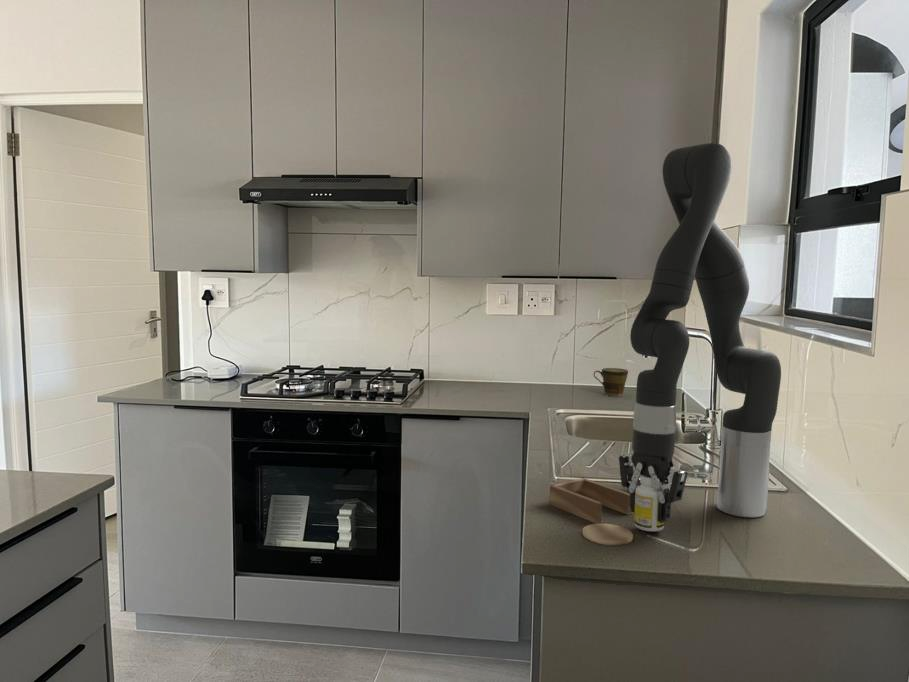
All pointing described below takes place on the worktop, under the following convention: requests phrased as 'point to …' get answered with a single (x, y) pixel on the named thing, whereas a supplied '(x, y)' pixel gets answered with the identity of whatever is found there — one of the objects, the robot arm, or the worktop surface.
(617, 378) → the ceramic cup
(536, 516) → the worktop surface
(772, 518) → the worktop surface
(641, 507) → the supplement bottle
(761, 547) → the worktop surface
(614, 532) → the coaster
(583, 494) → the frame
